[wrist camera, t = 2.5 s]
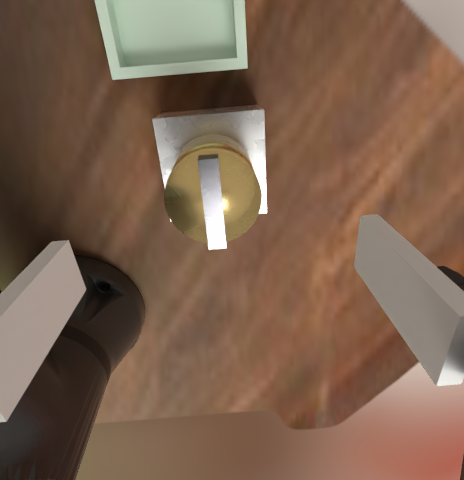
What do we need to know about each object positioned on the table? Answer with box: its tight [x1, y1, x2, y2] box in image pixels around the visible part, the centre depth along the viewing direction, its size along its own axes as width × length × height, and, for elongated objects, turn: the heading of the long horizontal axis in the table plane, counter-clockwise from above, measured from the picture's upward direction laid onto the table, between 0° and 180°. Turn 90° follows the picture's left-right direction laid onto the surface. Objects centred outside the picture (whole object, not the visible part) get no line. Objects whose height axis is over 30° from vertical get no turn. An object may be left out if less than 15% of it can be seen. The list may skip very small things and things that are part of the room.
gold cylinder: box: [164, 134, 262, 250], centre depth 26 cm, size 6×6×13 cm
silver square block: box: [152, 105, 267, 220], centre depth 29 cm, size 9×9×4 cm
